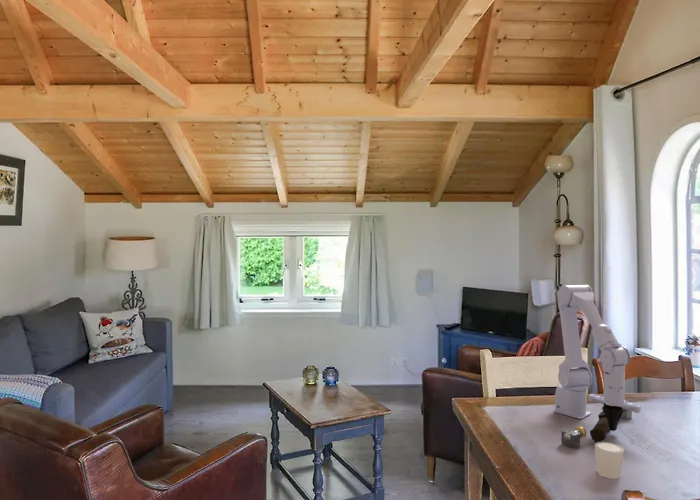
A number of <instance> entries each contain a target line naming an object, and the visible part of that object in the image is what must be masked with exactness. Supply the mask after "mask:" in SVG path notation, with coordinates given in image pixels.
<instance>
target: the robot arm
mask: <svg viewBox="0 0 700 500" xmlns="http://www.w3.org/2000/svg"><path fill="white" fill-rule="evenodd" d="M556 297H557V305H558V310H559V317H560V325H561V335H562V343H563V351H564V358H565V359H564V360H563V361H562V362H561V363H559V365H558V375H557V379H558V382H559V385H557V386H556V389H555V394H554V396H555V397H554V401H555V402H554V410H553V412H554V413H557V414H560V415H564V416H568V417H571V418H575V419H579V420H582V419H584V418H586V417H588V416H589V415H591V414H592V412H591V411H587V400H588V402H592V403H596V404H597V403H598V404H602V405H603V406H602V407H601V410H602V411H603V412H604V413H605V415H606V418H607V421H608V424H609V428H608V430H610V431H612V432H615V431H616V430H617V428H618V425H619V421H620V419H621V418H620V417H621V415H622V414H623V412H624V411H625V410H630V411H632V412H634V413H635V414H640V412H641V407H642V406H641V405H640V404H636V403H634V402H630V401H627V400H625V394H626V393H625V392H626V391H625V386H626V384H625V383H626V366H628V364H630V361H631V355H630V352H629V349H628V348H627V347H626V346H623V345H622V344H621V343H619V341H618V339H617V338H616V336H615V334H614V332H613V331H612V329H611V327H610V326H609V325H607V324H604V322H603V320H602V317H601V316H600V313H599V311H598V308H597V306H596V304H595V293H594V291H593V289H592V287H591V286H590V285H588V284H576V285H575V284H574V285H566V284H564V285H561V286H560V287H559V289H558V290H557V292H556ZM579 311H581V312H582V313H583V315H584V316H585V318H586V320H587V322H588V323H589V324H590V327H591V328H592V331H591V336H592V337H593V340H594V341H595V343H596V344H597V347H598V349H599V350H600V354H599V360H600V362H601V365H602V371H604V372H603V395H599V394H594V393H590V394H588V395H587V393H588V392H587V390H589V387H590V386H591V385H592V383H593V381H594V380H593V377H594V376H593V374H592V372H591V368H590V364H589V363H588V362H586V361H585V360H584V359H583V355H582V347H581V345H582V344H581V339H580V331H579V330H580V329H579V321H578V312H579ZM587 396H588V399H587Z"/></svg>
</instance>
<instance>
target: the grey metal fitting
mask: <svg viewBox="0 0 700 500" xmlns="http://www.w3.org/2000/svg"><path fill="white" fill-rule="evenodd" d="M586 436H587V431H586V429H585V427H583V426H577V427H575V428H574V430H572V429H569V428H566V429H563V430H561V445H562V446H565V447H567V448H569V447H570V449H572V448H573V449H572V450H576V449H578V447H579V448H580V447H581V439H584V438H585V437H586ZM575 448H576V449H575Z"/></svg>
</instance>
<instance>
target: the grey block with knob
mask: <svg viewBox="0 0 700 500" xmlns="http://www.w3.org/2000/svg"><path fill="white" fill-rule="evenodd" d="M632 414H633V411H630V410H625V411H624V412H623V414H622V415H621V417H620V419H625V420H629V419H632V417H633V416H632Z"/></svg>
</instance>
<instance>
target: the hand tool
mask: <svg viewBox="0 0 700 500" xmlns="http://www.w3.org/2000/svg"><path fill="white" fill-rule="evenodd" d="M597 416H598V420H597V422H596V423H595V425H594V427H593V428H592V429H590V430H589V435H590V438H591V440H593V442H595V443H598V442H604V441H605V439H606V437H607V436H606V435H607V432H608V431H609V424H608V421H607V418H606V415H605V413H604V412H603V410H602V411H601V412H600V413H599V414H598V415H597Z"/></svg>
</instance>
